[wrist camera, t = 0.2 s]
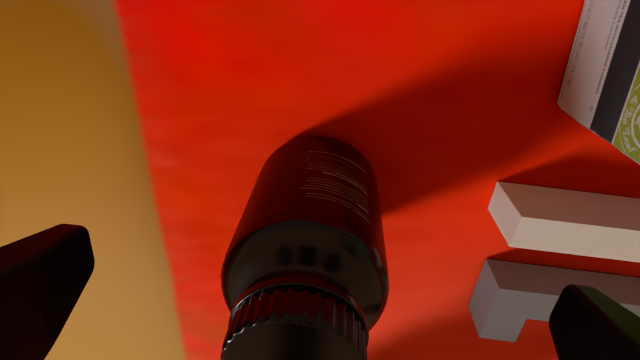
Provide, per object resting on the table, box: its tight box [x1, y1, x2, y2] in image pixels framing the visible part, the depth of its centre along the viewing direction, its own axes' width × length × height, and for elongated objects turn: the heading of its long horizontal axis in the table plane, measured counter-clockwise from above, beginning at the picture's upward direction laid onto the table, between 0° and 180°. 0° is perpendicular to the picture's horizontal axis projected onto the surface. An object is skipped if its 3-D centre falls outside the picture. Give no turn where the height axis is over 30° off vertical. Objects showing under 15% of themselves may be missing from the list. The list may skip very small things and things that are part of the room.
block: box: [468, 259, 640, 342], centre depth 25 cm, size 4×10×3 cm, turn 85°
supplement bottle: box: [220, 136, 389, 360], centre depth 18 cm, size 7×7×12 cm
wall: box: [488, 181, 640, 263], centre depth 21 cm, size 2×11×4 cm, turn 85°
